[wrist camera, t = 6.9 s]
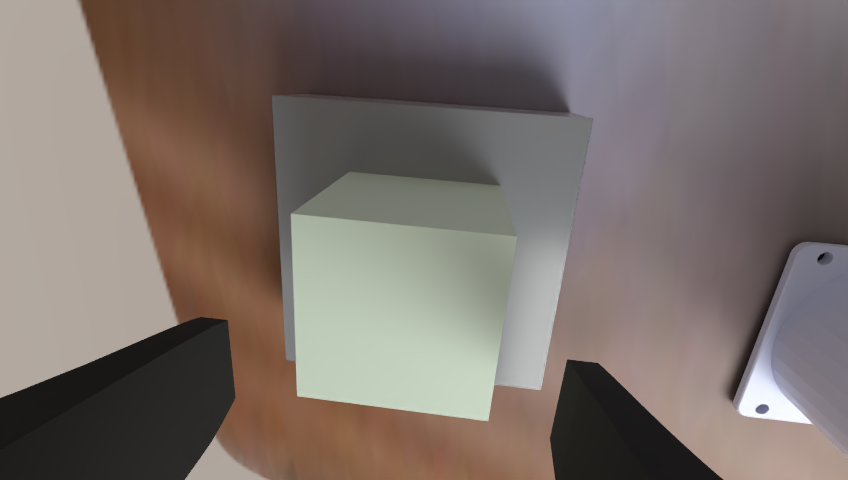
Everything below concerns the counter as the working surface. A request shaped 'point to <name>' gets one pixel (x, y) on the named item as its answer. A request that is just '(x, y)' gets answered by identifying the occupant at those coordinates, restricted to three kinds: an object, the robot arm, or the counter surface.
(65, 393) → the robot arm
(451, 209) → the green block
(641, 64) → the counter surface
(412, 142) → the stone base
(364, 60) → the counter surface
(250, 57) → the counter surface
